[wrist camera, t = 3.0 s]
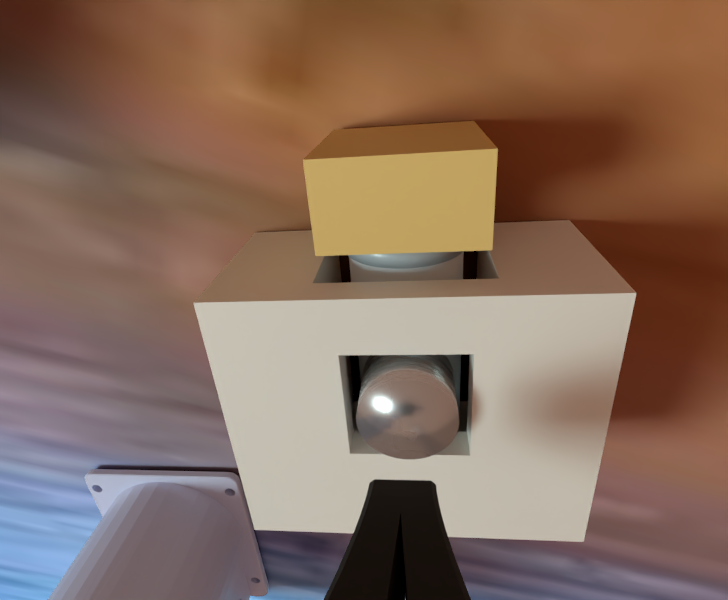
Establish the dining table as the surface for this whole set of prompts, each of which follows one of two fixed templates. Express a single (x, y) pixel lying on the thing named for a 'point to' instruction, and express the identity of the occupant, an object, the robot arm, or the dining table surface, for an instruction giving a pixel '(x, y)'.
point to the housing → (422, 337)
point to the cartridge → (403, 202)
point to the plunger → (408, 405)
